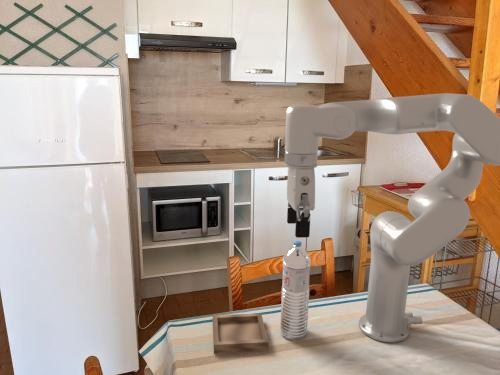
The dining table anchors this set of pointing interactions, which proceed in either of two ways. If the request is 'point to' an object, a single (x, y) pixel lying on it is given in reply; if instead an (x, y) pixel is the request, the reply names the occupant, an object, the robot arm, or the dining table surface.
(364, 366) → the dining table surface
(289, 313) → the water bottle
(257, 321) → the tray
